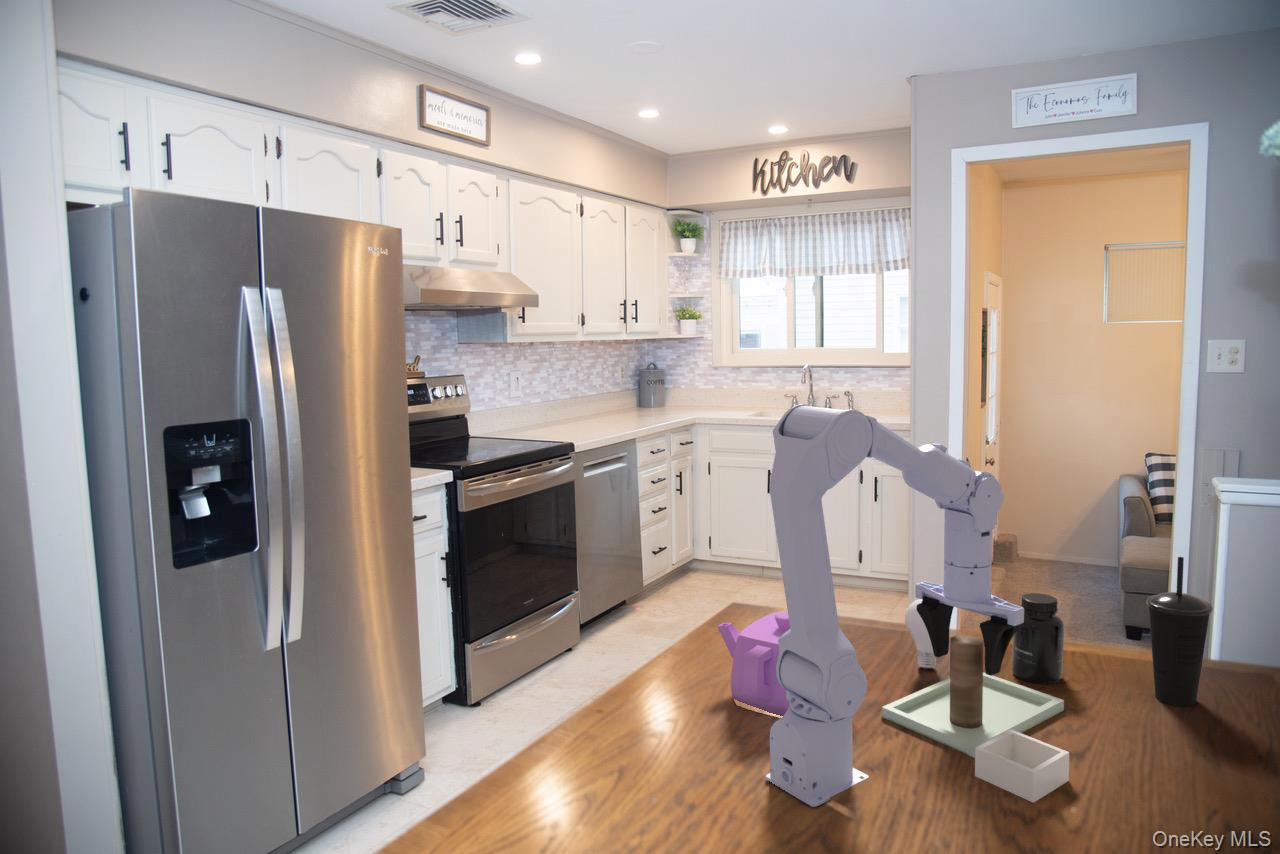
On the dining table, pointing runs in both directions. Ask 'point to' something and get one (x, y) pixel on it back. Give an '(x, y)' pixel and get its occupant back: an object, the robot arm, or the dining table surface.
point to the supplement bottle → (1039, 641)
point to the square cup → (1022, 765)
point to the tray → (999, 714)
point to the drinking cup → (1177, 642)
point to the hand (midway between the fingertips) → (966, 663)
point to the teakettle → (757, 662)
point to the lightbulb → (920, 636)
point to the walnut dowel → (966, 681)
